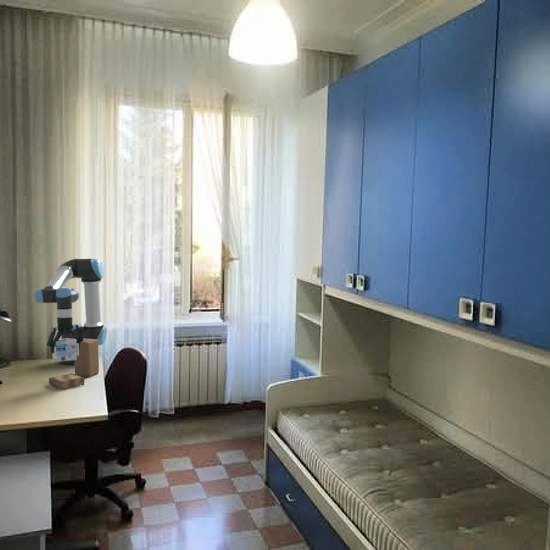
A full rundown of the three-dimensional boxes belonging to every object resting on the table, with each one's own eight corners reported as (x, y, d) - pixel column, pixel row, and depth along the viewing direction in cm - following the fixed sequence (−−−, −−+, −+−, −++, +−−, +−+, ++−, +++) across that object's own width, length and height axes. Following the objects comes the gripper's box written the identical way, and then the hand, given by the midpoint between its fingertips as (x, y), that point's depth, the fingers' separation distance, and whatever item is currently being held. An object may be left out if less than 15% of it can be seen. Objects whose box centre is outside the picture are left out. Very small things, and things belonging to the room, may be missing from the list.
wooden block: (73, 376, 319) (72, 341, 317) (84, 371, 329) (83, 337, 327) (89, 377, 316) (88, 342, 314) (99, 373, 326) (98, 339, 324)
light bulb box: (55, 362, 295) (55, 341, 294) (54, 359, 301) (53, 339, 300) (77, 359, 300) (76, 339, 299) (75, 357, 306) (75, 337, 305)
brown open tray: (72, 380, 311) (72, 372, 310) (84, 384, 302) (84, 377, 301) (49, 385, 301) (49, 377, 301) (61, 390, 292) (60, 382, 292)
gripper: (82, 313, 310) (83, 352, 311) (38, 318, 292) (40, 359, 294) (89, 314, 304) (90, 354, 306) (45, 320, 287) (46, 362, 289)
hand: (65, 357), depth 300 cm, fingers closed on light bulb box, 12 cm apart
